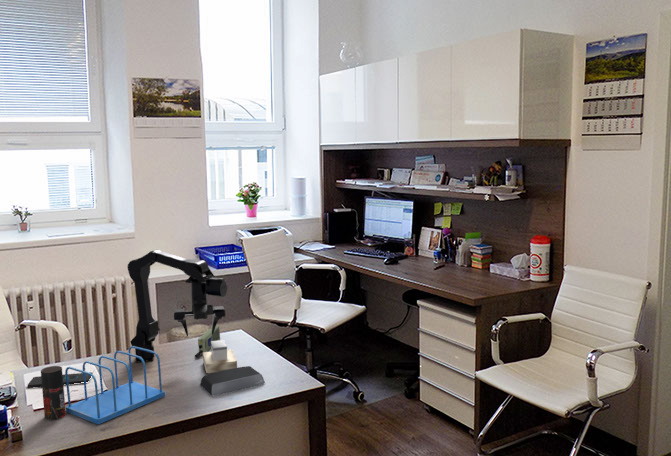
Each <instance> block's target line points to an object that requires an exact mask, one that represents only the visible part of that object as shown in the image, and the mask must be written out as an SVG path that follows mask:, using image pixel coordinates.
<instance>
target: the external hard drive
mask: <svg viewBox="0 0 671 456" xmlns="http://www.w3.org/2000/svg"><path fill="white" fill-rule="evenodd" d="M264 383H265V384H266V380H265V378H264V377H263V375H262V373H260V372H259V371H257V370H256V369H254V368H253V367H252V366H250V365H249V366H248V365H247V366H240V367H239V366H237V368H232V369H227V370H223V371H219V372H215V373H212V374H209V373H207V374H206V375H203V376H202V377H201V380H200V384H199V385H200V386H201V388H203V389H204V390H205V391H206V392H207V393H208V394H209V395H210V396H211V397H213V396H214V397H216V396H220V395H225V394H230V393H234V392H237V391H242V390H246V389H252V388H255V387H258V386H262V385H264ZM261 384H262V385H261Z"/></svg>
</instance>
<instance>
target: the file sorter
mask: <svg viewBox="0 0 671 456" xmlns="http://www.w3.org/2000/svg"><path fill="white" fill-rule="evenodd" d="M132 349H134V350H135V349H139V350H143V351H147V352H151V353H154V356H155V357H156V359H157V368H158V369H157V370H158V382H159V389H158V388H156V387H153V386H150V385H148V383H147V369H146V367H147V365H146V363H145V362H146V361H144V360H143V359H142V358H141V357H140V356H137V355H136V354H133V353H131V351H132ZM117 354H121V355H126V356H128V363H129V364H128V363H127V362H125V361H122V360H119V359H117ZM132 357H134V358H135V359H136V358H139V359H140V360H141V361H142V362H141V363H142V366H143V367H142V369H143V376H144V377H143V379H144V380H143V381H144V384H143V383H140V382H137V381H134V380H133V378H134V377H133V368H132V366H133V365H132ZM102 359H105V360H106V359H107V360H109V361H113V362H114V372H113V370H112V369H111V368H110V367H109V366H105V365H103V364H102V361H101V360H102ZM117 363H119V364H122V365H125V367H126V370H127V378H128V382H126V383H125V384H122V385H119V379H118V367H117V365H118V364H117ZM86 364H89V365H93V366H96V367H98V372H99V382H100V383H99V385H100V392H98V391H99V390H98V382H97V378H96V376H95V375H94V374H93V373H92V374H91V373H89V371H86V368H85V367H86ZM102 369H105V370H108V371H109V372H110V375H111V381H112V388H111V389H109V390H106V391H104V388H103V387H104V385H103V384H104V383H103V377H102V376H103V375H102ZM69 370H73V371H75V372H77V373H78V372H79V373H83V379H84V384H83V388H84V399H83V400H80V401H77V402H74V403H71V396H70V395H71V394H70V387H69V386H70V385H69V383H68V374H69V373H68V371H69ZM64 374H65V377H66V385H65V387H66V393H67V394H66V395H67V402H68V405H67V406H65V410H66V413H68V414H71V415H72V416H73V415H74V416H76V417H79V418H82V419H83V420H86V421H88V422H91V423H93V424H96V425H100V424H102V423H105V422H107V421H111V420H112V419H114V418H117V417H118V416H121V415H124V414H126V413H128V412H131V411H133V410H135V409H137V408H140V407H142V406H146V405H147V404H149V403H152V402H154V401H157V400H159V399H161V398H164V397H165V396H166V391H164V390H163V387H162V386H163V385H162V373H161V361H160V355H158V353H157V352H156V351H155V350H154V351H151V350H147V349H143V348H139V347H135V346H132V345H131V346H130V347H129V348H128V351H127V352H125V351H122V350H116V351H115V352H114V354H113V357H109V356H106V355H101V356H100V357H99V358H98V363H95V362H92V361H89V360H87V361H84V362H83V364H82V369H79V368H77V367H72V366H68V367H66V368H65V372H64ZM85 374H88V375H90V376H92V378H91V379H93V382H94V388H95V389H94V390H95V391H94V392H95V394H94V395H93V396H89V397H88V393H87V392H88V390H87V383H86V377H85Z"/></svg>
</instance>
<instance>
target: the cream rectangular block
mask: <svg viewBox="0 0 671 456" xmlns="http://www.w3.org/2000/svg"><path fill="white" fill-rule="evenodd" d="M202 359H203V360H202V361H203V365H204V369H205V372H206V374H212V373H215V372H219V371H223V370H227V369H232V368H238V360H237V358H236V355H235V353H234V350H233V348H232V349H230V348H229V349H227V360H218V361H213V357H212V354H211V351H207V352H203V354H202Z"/></svg>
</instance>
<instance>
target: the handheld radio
mask: <svg viewBox="0 0 671 456" xmlns="http://www.w3.org/2000/svg"><path fill="white" fill-rule="evenodd" d="M220 331H221V329H220V324H216V327H215V330H214V333H213V334H212V326H211V327H210V328H209V329H207V331H205V332H204V333H202V334H201V336H199V337H198V338H197V344H198V345H197V346H198V352H197V353H196V354H194V358H195V359H197V358H198V357H200V356H201V355H203V352H209V351H210V350H211V341H218V340H221V332H220Z"/></svg>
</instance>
